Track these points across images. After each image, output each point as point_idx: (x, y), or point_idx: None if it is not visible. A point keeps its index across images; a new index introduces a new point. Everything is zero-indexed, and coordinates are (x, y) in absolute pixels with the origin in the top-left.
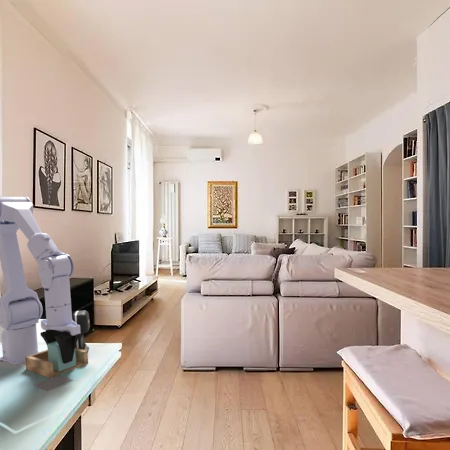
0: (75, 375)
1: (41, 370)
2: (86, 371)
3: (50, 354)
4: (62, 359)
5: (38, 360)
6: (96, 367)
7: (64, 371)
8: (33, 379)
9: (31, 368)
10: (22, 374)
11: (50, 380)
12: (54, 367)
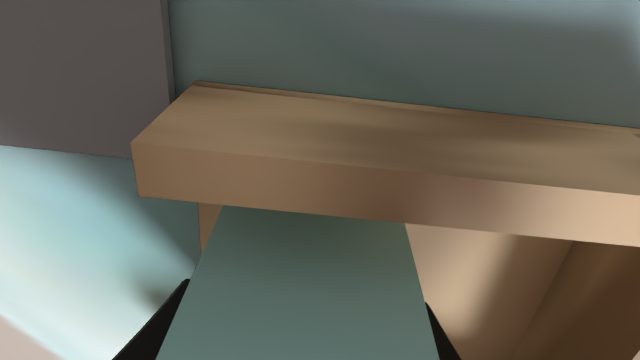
0: (85, 219)
1: (344, 119)
2: (94, 288)
3: (367, 328)
4: None
5: (446, 191)
6: (108, 344)
7: (209, 226)
8: (367, 13)
9: (569, 136)
10: (628, 51)
11: (102, 43)
12: (295, 221)
